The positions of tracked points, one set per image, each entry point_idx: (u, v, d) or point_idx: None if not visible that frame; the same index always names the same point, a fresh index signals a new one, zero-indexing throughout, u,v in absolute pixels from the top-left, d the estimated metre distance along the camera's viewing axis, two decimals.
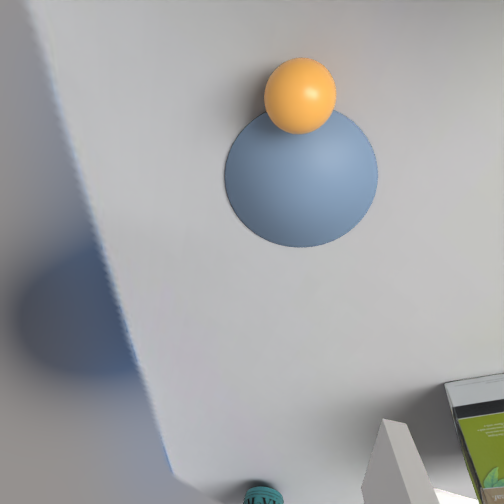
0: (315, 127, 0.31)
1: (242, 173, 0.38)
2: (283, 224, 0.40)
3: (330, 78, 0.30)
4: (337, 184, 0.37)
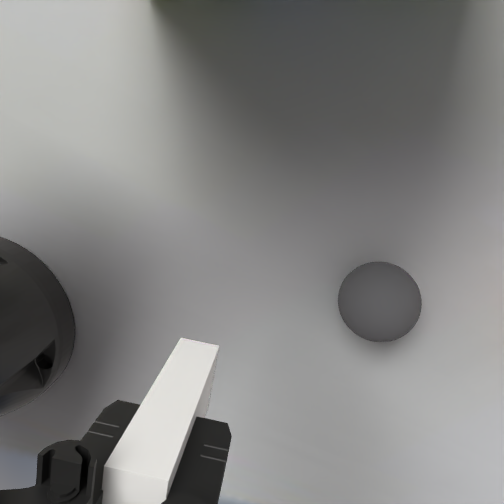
0: None
1: None
2: None
3: None
4: None
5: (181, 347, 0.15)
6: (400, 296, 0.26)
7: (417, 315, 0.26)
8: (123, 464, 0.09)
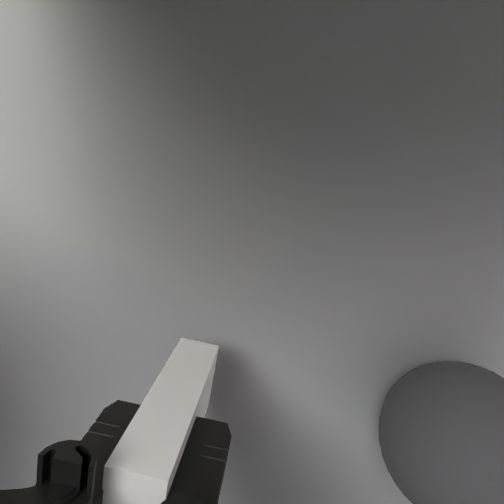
0: None
1: None
2: None
3: None
4: None
5: (181, 347, 0.15)
6: None
7: None
8: (123, 464, 0.09)
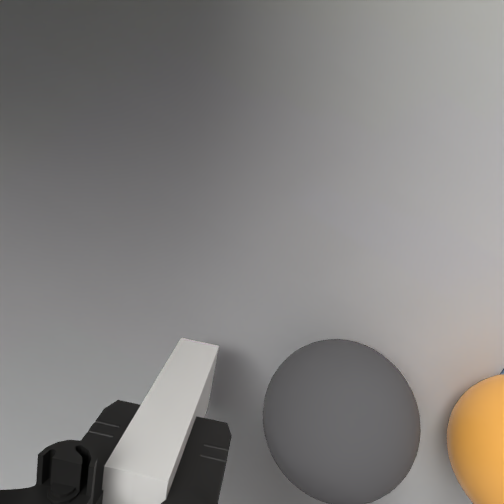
0: None
1: None
2: None
3: None
4: None
5: (181, 347, 0.15)
6: None
7: None
8: (123, 464, 0.09)
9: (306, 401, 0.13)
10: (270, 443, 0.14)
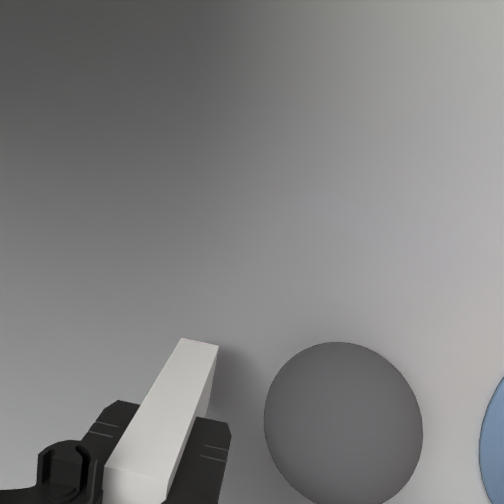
0: None
1: None
2: None
3: None
4: None
5: (181, 347, 0.15)
6: None
7: None
8: (123, 464, 0.09)
9: (307, 405, 0.13)
10: (271, 447, 0.14)
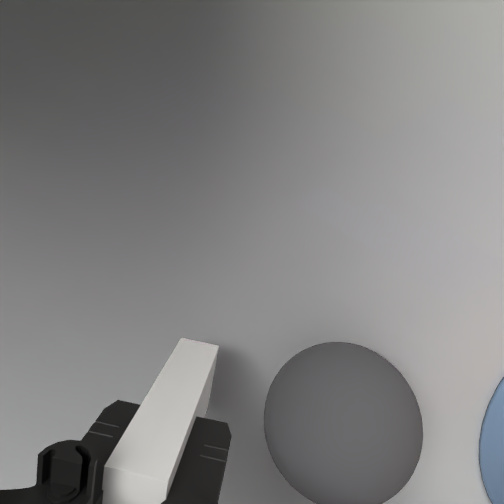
0: None
1: None
2: None
3: None
4: None
5: (181, 347, 0.15)
6: None
7: None
8: (123, 464, 0.09)
9: (307, 405, 0.13)
10: (271, 447, 0.14)
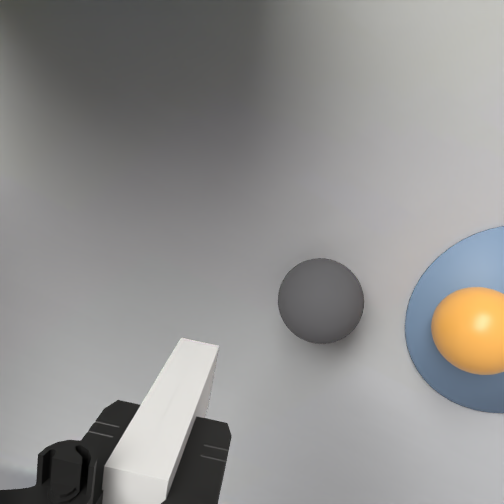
0: None
1: (473, 387, 0.30)
2: None
3: None
4: None
5: (181, 347, 0.15)
6: None
7: None
8: (123, 464, 0.09)
9: (301, 283, 0.24)
10: (282, 310, 0.26)
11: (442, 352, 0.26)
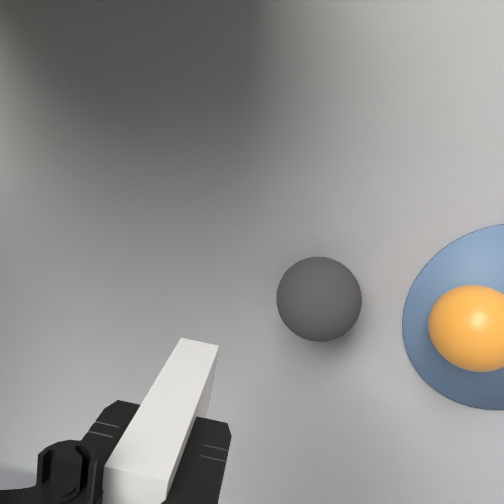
0: None
1: (470, 385, 0.30)
2: None
3: None
4: None
5: (181, 347, 0.15)
6: None
7: None
8: (123, 464, 0.09)
9: (299, 281, 0.25)
10: (281, 308, 0.26)
11: (439, 349, 0.26)
